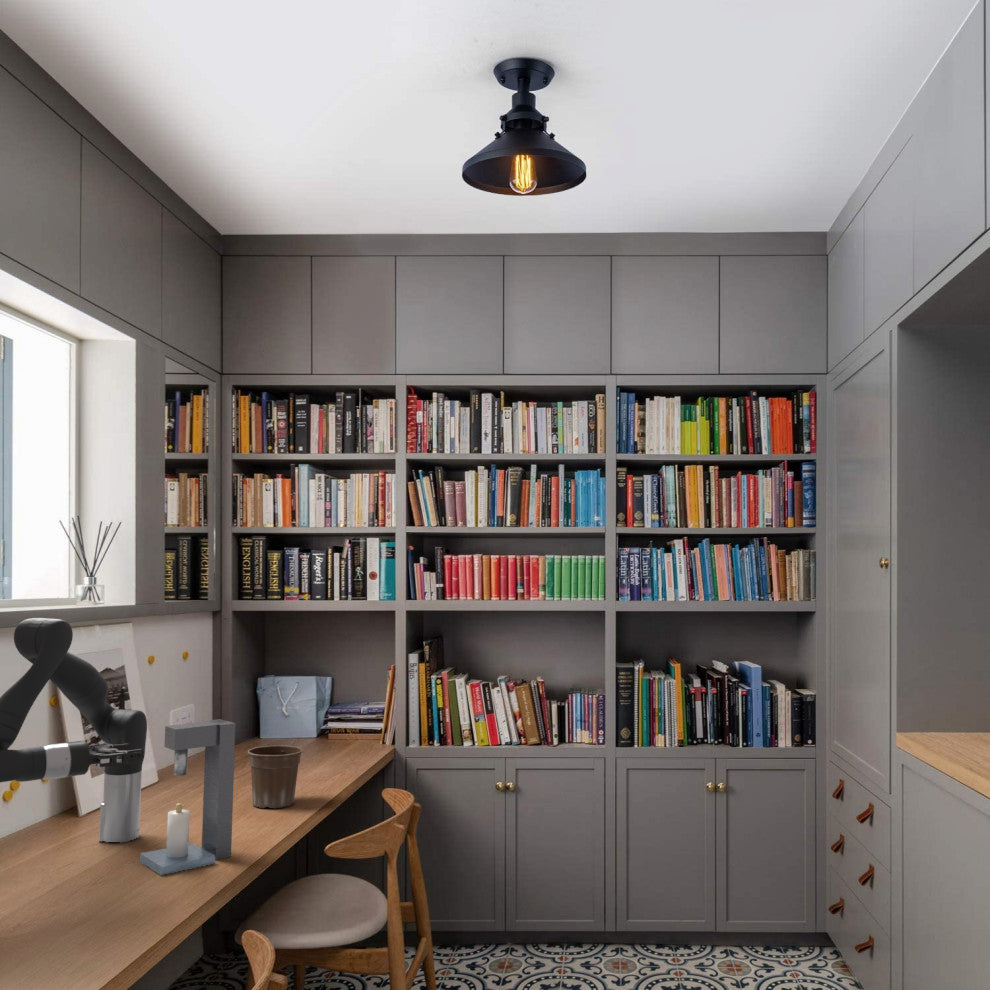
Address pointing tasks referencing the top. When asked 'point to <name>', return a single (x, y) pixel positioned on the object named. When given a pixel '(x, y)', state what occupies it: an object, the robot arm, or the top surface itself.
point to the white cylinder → (177, 832)
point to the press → (216, 792)
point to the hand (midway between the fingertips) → (135, 750)
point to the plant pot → (274, 775)
